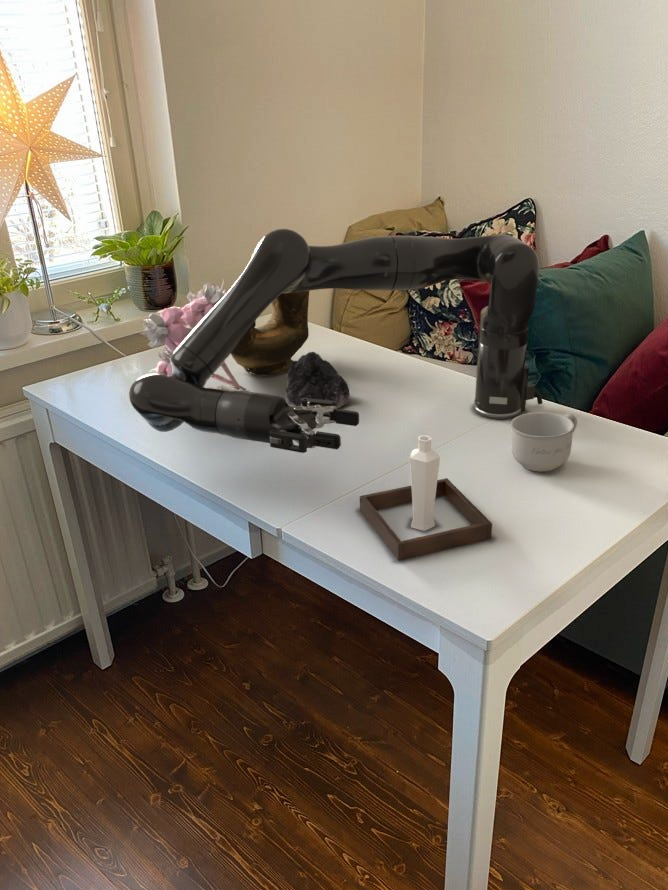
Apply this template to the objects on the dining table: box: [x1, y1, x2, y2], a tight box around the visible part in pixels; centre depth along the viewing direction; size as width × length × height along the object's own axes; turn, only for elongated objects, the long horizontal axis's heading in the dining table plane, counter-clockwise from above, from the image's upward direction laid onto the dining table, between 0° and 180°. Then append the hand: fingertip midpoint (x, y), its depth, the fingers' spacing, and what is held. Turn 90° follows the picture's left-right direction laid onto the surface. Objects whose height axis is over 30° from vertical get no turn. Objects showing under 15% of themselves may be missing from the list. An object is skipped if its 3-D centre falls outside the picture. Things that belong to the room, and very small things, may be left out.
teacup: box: [510, 411, 578, 473], centre depth 154 cm, size 14×11×8 cm
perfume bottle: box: [409, 434, 441, 532], centre depth 134 cm, size 5×4×15 cm
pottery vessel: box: [230, 290, 311, 377], centre depth 188 cm, size 25×11×20 cm, turn 138°
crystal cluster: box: [284, 351, 351, 409], centre depth 176 cm, size 13×14×10 cm
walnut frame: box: [359, 477, 493, 561], centre depth 137 cm, size 16×16×3 cm
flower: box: [136, 278, 247, 391], centre depth 177 cm, size 20×22×25 cm
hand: (349, 430), depth 134 cm, fingers open, 8 cm apart
